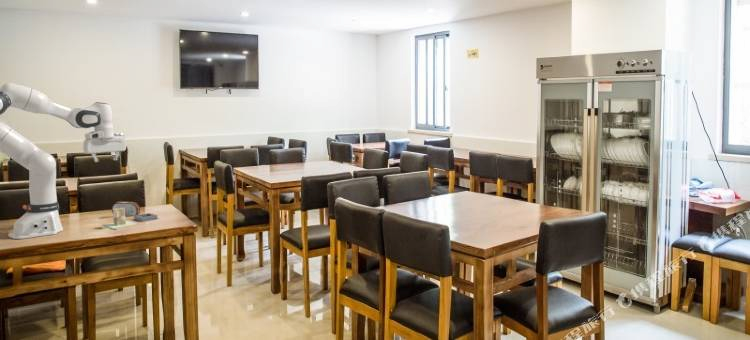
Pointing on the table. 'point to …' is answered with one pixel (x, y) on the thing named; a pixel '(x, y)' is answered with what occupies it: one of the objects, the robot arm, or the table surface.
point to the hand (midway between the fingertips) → (106, 160)
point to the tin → (128, 208)
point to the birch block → (119, 216)
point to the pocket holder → (145, 217)
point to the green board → (112, 226)
